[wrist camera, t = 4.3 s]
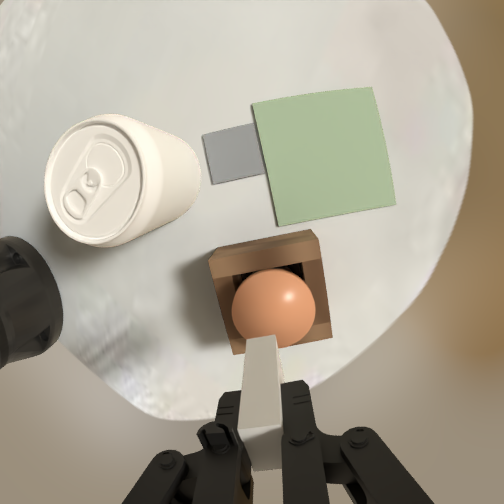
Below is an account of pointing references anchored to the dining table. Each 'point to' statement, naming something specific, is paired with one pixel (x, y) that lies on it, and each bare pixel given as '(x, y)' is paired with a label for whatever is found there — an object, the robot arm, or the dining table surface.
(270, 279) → the plunger
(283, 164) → the pad
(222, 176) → the pad
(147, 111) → the dining table surface
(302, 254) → the housing
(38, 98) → the dining table surface
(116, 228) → the beverage can
